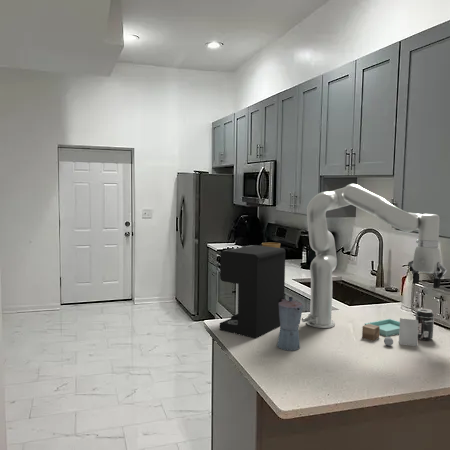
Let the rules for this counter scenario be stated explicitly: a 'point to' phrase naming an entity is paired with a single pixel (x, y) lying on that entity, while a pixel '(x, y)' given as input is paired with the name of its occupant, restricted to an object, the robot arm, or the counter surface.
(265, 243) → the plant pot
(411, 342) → the white box
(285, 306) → the moka pot
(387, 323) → the tray
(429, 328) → the beverage can
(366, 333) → the walnut block
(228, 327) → the coffee maker
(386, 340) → the grey ball
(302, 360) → the counter surface
